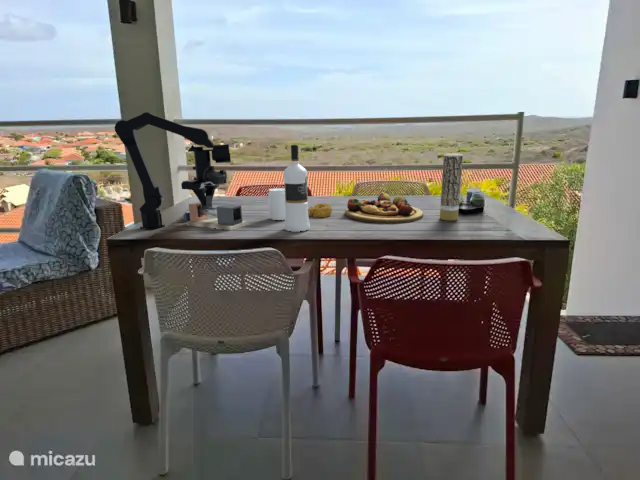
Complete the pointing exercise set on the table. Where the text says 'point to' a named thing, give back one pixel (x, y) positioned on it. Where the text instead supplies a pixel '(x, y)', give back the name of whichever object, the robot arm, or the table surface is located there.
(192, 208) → the socket
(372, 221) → the wooden plate with food
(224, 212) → the sleeve
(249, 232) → the table surface
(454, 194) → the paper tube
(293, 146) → the vodka
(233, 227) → the base board
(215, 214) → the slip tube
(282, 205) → the beverage can
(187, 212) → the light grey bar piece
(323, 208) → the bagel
